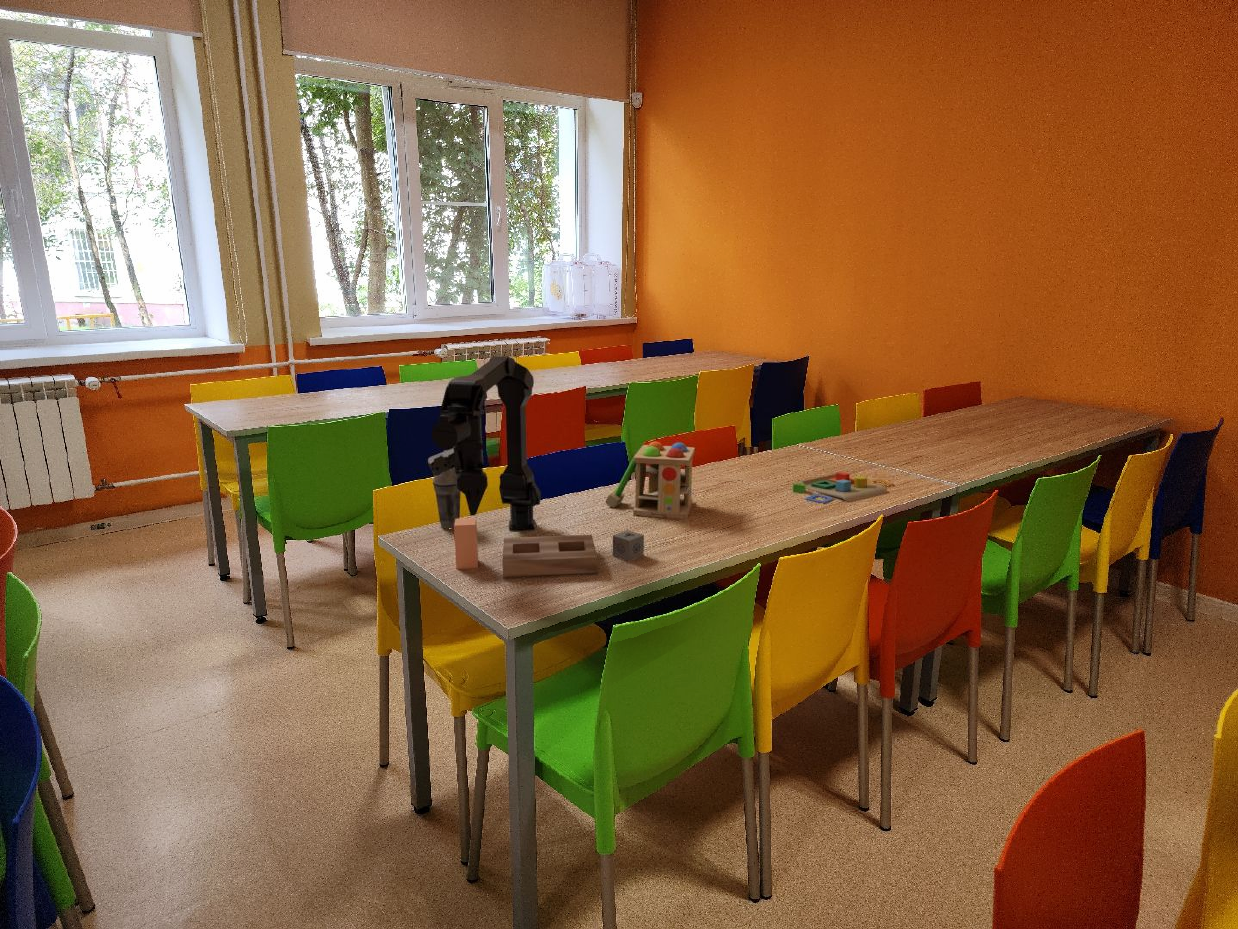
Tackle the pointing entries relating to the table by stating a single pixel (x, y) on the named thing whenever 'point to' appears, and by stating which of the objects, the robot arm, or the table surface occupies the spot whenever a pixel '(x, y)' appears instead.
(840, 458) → the table surface
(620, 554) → the dice cube
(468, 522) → the pin
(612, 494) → the pounding bench toy
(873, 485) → the shape sorter
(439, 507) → the beverage cup
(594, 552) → the socket block
